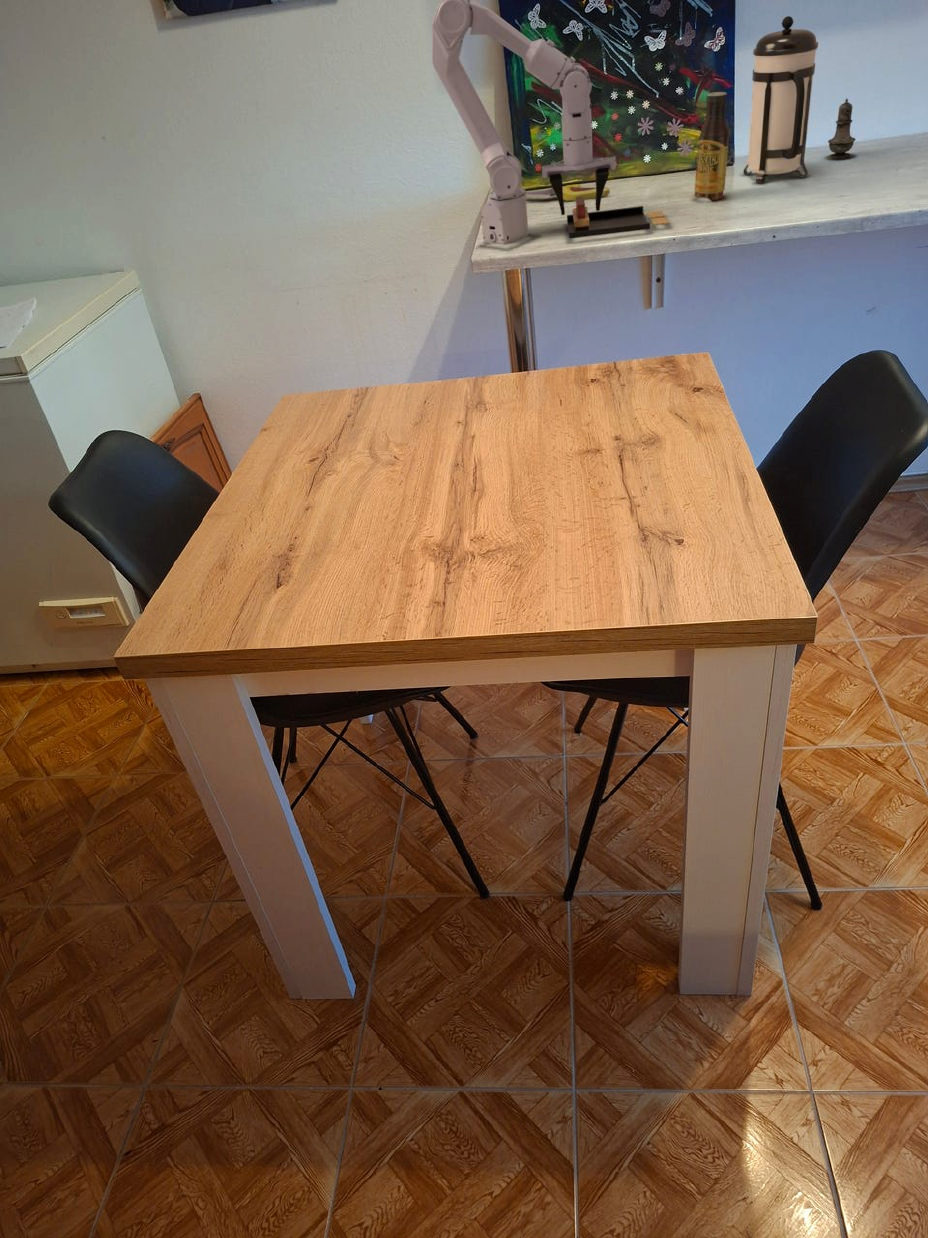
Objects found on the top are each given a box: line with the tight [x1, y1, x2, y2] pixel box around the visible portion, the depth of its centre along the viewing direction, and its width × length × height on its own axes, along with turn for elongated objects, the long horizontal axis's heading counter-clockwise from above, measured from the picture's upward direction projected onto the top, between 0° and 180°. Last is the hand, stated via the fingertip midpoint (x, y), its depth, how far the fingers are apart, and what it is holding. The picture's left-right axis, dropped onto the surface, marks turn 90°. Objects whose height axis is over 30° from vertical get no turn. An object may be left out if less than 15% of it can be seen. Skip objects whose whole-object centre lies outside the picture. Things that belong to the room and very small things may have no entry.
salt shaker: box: [827, 97, 856, 161], centre depth 199 cm, size 6×6×12 cm
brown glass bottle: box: [694, 91, 730, 202], centre depth 183 cm, size 6×6×20 cm
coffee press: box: [742, 15, 819, 185], centre depth 187 cm, size 17×16×30 cm
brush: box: [571, 196, 590, 231], centre depth 179 cm, size 3×10×5 cm, turn 177°
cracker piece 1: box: [647, 210, 665, 219], centre depth 181 cm, size 3×4×1 cm
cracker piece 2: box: [651, 216, 670, 226], centre depth 177 cm, size 3×4×1 cm
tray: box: [566, 205, 651, 239], centre depth 180 cm, size 16×14×2 cm
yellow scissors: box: [525, 184, 610, 202], centre depth 205 cm, size 8×3×25 cm
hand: (580, 211), depth 179 cm, fingers open, 6 cm apart
